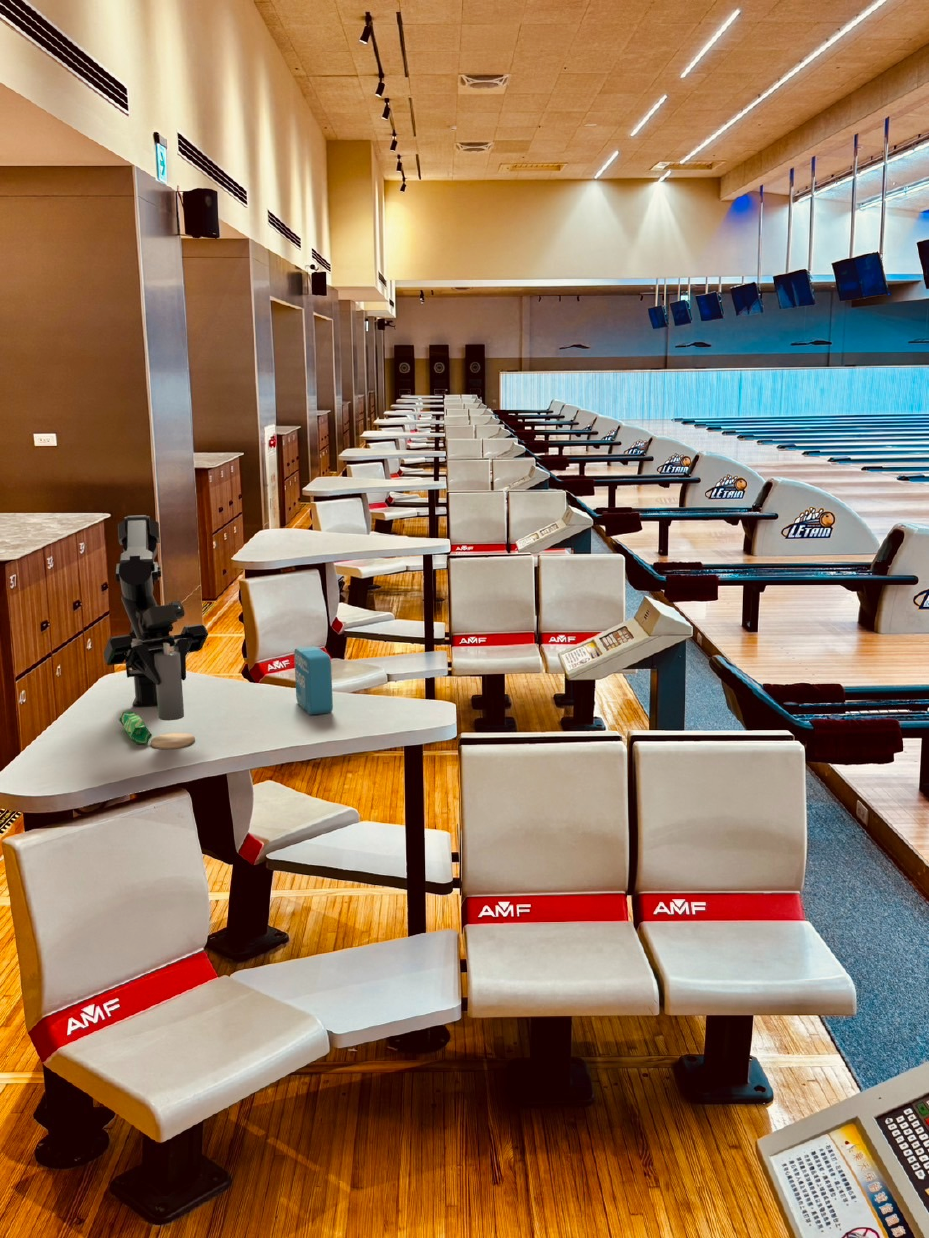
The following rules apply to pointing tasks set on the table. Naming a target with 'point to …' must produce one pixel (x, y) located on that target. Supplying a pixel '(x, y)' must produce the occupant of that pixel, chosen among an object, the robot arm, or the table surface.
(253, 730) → the table surface
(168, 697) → the charcoal plug
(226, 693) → the table surface
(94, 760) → the table surface
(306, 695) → the data package
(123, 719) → the candy
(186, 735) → the cork coaster
